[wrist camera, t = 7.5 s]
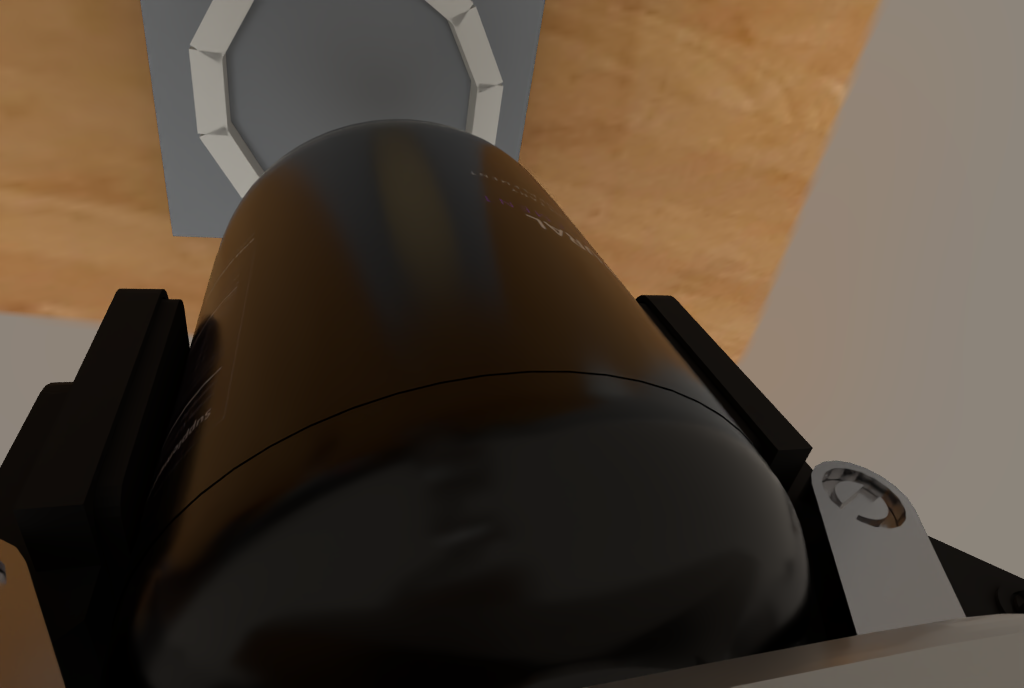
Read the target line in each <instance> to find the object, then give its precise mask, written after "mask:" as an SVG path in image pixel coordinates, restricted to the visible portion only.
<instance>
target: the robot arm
mask: <svg viewBox="0 0 1024 688" xmlns="http://www.w3.org/2000/svg"><path fill="white" fill-rule="evenodd" d="M636 301H637V302H638V303H639V305H640V306H641V307H642V308H643V310H644V311H645V312H646V313H647V314H648V316H649V317H650V318H651V319H652V321H653V322H654V323H655V324H656V325H657V327H658V328H659V329H660V330H661V332H662V333H663V334H664V335H665V336H666V338H667V339H668V340H669V341H670V343H671V344H672V345H673V346H674V347H675V349H676V350H677V351H678V352H679V354H680V355H681V356H682V357H683V358H684V360H685V361H686V362H687V363H688V364H689V366H690V367H691V368H692V369H693V371H694V372H695V373H696V374H697V375H698V377H699V378H700V379H701V380H702V382H703V383H704V384H705V385H706V386H707V388H708V389H709V390H710V391H711V393H712V394H713V395H714V396H715V397H716V399H717V400H718V401H719V402H720V404H721V405H722V406H723V407H724V409H725V410H726V411H727V412H728V413H729V415H730V416H731V417H732V418H733V420H734V421H735V422H736V423H737V424H738V426H739V427H740V428H741V429H742V431H743V432H744V433H745V434H746V436H747V437H748V438H749V439H750V441H751V442H752V443H753V444H754V446H755V447H756V449H757V450H758V452H759V454H760V455H761V456H762V457H763V459H764V460H765V461H766V463H767V464H768V465H769V467H770V468H771V470H772V471H773V473H774V474H775V476H776V477H777V478H778V480H779V482H780V483H781V485H782V486H783V488H784V489H785V491H786V492H787V494H788V496H789V498H790V500H791V502H792V504H793V507H794V509H795V512H796V514H797V517H798V519H799V521H800V524H801V527H802V531H803V535H804V539H805V544H806V549H807V554H808V559H809V565H810V573H811V590H812V613H811V620H810V628H809V634H808V640H807V645H803V646H797V647H792V648H787V649H781V650H776V651H771V652H766V653H760V654H755V655H750V656H744V657H739V658H734V659H728V660H723V661H718V662H712V663H707V664H702V665H697V666H692V667H687V668H681V669H676V670H671V671H666V672H661V673H656V674H650V675H645V676H640V677H635V678H630V679H625V680H619V681H614V682H609V683H604V684H599V685H594V686H589V687H583V688H1024V579H1022V578H1020V577H1018V576H1016V575H1013V574H1011V573H1009V572H1007V571H1004V570H1002V569H1000V568H998V567H996V566H993V565H991V564H989V563H987V562H985V561H982V560H980V559H978V558H976V557H974V556H971V555H969V554H967V553H965V552H962V551H960V550H958V549H956V548H954V547H952V546H949V545H947V544H945V543H943V542H941V541H938V540H936V539H934V538H932V537H930V536H927V533H926V532H925V529H924V527H923V525H922V523H921V521H920V519H919V517H918V515H917V512H916V510H915V509H914V507H913V506H912V504H911V503H910V501H909V500H908V498H907V497H906V496H905V495H904V494H903V493H902V492H901V491H900V490H899V489H898V488H897V487H896V486H894V485H893V484H892V483H890V482H889V481H887V480H886V479H885V478H883V477H882V476H880V475H878V474H876V473H874V472H872V471H870V470H868V469H866V468H864V467H861V466H858V465H855V464H852V463H848V462H841V461H827V462H822V463H821V464H819V465H817V466H815V468H814V470H812V469H811V467H810V466H809V465H808V464H807V463H806V462H805V461H806V458H807V457H808V455H809V453H810V452H811V450H812V447H811V446H810V444H809V443H808V442H807V441H806V440H805V439H804V438H803V437H802V436H801V435H800V434H799V433H798V432H797V430H796V429H795V428H794V427H793V426H792V425H791V424H790V423H789V422H788V421H787V419H786V418H784V416H783V415H782V414H781V413H780V412H779V411H778V410H777V409H776V408H775V406H774V405H773V404H772V403H771V402H770V401H769V400H768V399H767V398H766V397H765V396H764V394H763V393H761V391H760V390H759V389H758V388H757V387H756V386H755V385H754V384H753V383H752V381H751V380H750V379H749V378H748V377H747V376H746V375H745V374H744V373H743V372H742V371H741V370H740V368H739V367H738V366H737V365H736V364H735V363H734V362H733V361H732V360H731V359H730V358H729V356H728V355H727V354H726V353H725V352H724V351H723V350H722V349H721V348H720V347H719V346H718V345H717V343H716V342H715V341H714V340H713V339H712V338H711V337H710V336H709V335H708V334H707V333H706V332H705V330H704V329H703V328H702V327H701V326H700V325H699V324H698V323H697V322H696V321H695V320H694V318H693V317H692V316H691V315H690V314H689V313H688V312H687V311H686V310H685V309H684V308H683V307H682V305H681V304H680V303H679V302H678V301H677V300H676V299H675V298H674V297H672V296H663V295H641V296H639V297H637V299H636ZM189 350H190V347H189V339H188V332H187V324H186V317H185V310H184V305H183V302H182V300H181V299H168V295H167V292H166V291H165V289H118V291H117V292H116V294H115V296H114V298H113V300H112V302H111V304H110V306H109V308H108V310H107V313H106V315H105V317H104V319H103V321H102V323H101V325H100V327H99V329H98V331H97V334H96V336H95V338H94V340H93V342H92V344H91V346H90V349H89V350H88V353H87V354H86V357H85V359H84V361H83V363H82V365H81V367H80V369H79V371H78V373H77V375H76V377H75V380H74V382H57V383H50V384H48V385H46V386H45V387H44V388H43V390H42V391H41V392H40V394H39V396H38V398H37V400H36V402H35V403H34V405H33V407H32V409H31V411H30V413H29V415H28V417H27V418H26V420H25V422H24V424H23V426H22V428H21V430H20V432H19V433H18V436H17V437H16V439H15V441H14V443H13V445H12V446H11V448H10V450H9V452H8V454H7V456H6V458H5V460H4V461H3V463H2V465H1V467H0V688H100V681H101V674H102V669H103V664H104V658H105V653H106V649H107V645H108V641H109V638H110V634H111V629H112V622H113V618H114V614H115V610H116V607H117V603H118V599H119V596H120V592H121V589H122V585H123V582H124V578H125V575H126V571H127V568H128V564H129V561H130V557H131V553H132V550H133V546H134V543H135V539H136V536H137V532H138V529H139V525H140V522H141V518H142V515H143V511H144V508H145V504H146V501H147V497H148V494H149V490H150V487H151V483H152V480H153V476H154V473H155V469H156V466H157V462H158V459H159V455H160V451H161V448H162V444H163V441H164V437H165V434H166V430H167V427H168V423H169V420H170V416H171V413H172V409H173V406H174V402H175V399H176V395H177V392H178V388H179V385H180V381H181V378H182V374H183V371H184V367H185V364H186V360H187V357H188V353H189Z"/></svg>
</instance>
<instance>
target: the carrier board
mask: <svg viewBox="0 0 1024 688" xmlns="http://www.w3.org/2000/svg"><path fill="white" fill-rule="evenodd" d="M140 2H141V9H142V16H143V23H144V31H145V38H146V45H147V52H148V60H149V67H150V74H151V81H152V88H153V96H154V103H155V110H156V117H157V125H158V132H159V139H160V146H161V153H162V161H163V168H164V175H165V182H166V190H167V197H168V204H169V211H170V218H171V226H172V233H173V236H186V237H214V238H223V235H224V233H225V230H226V228H227V226H228V223H229V221H230V219H231V217H232V215H233V213H234V212H235V210H236V208H237V207H238V205H239V203H240V201H241V200H242V198H243V197H244V195H245V194H246V193H247V191H248V190H249V189H250V187H251V186H252V185H253V183H254V182H255V181H256V180H257V179H258V178H259V177H260V176H261V175H262V174H263V173H264V172H265V171H266V170H267V169H268V168H269V167H270V166H272V165H273V164H274V163H275V162H276V161H277V160H279V159H280V158H281V157H283V156H284V155H285V154H287V153H288V152H290V151H291V150H293V149H294V148H296V147H297V146H299V145H301V144H303V143H305V142H307V141H309V140H311V139H312V138H314V137H317V136H319V135H322V134H324V133H327V132H329V131H331V130H334V129H338V128H341V127H345V126H348V125H352V124H357V123H362V122H368V121H375V120H387V119H412V120H421V121H429V122H434V123H439V124H443V125H448V126H451V127H454V128H457V129H460V130H463V131H467V132H469V133H471V134H473V135H476V136H478V137H480V138H482V139H484V140H486V141H488V142H489V143H491V144H493V145H495V146H496V147H498V148H500V149H501V150H502V151H504V152H505V153H506V154H508V155H509V156H511V157H512V158H513V159H514V160H516V161H517V162H518V159H519V153H520V147H521V141H522V135H523V129H524V123H525V117H526V111H527V106H528V100H529V94H530V88H531V82H532V76H533V70H534V64H535V58H536V52H537V46H538V40H539V34H540V28H541V22H542V16H543V10H544V4H545V0H140Z"/></svg>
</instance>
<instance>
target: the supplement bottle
mask: <svg viewBox="0 0 1024 688" xmlns="http://www.w3.org/2000/svg"><path fill="white" fill-rule="evenodd" d="M811 613H812V590H811V573H810V565H809V559H808V554H807V549H806V544H805V539H804V535H803V531H802V527H801V524H800V521H799V519H798V517H797V514H796V512H795V509H794V507H793V504H792V502H791V500H790V498H789V496H788V494H787V492H786V491H785V489H784V488H783V486H782V485H781V483H780V482H779V480H778V478H777V477H776V476H775V474H774V473H773V471H772V470H771V468H770V467H769V465H768V464H767V463H766V461H765V460H764V459H763V457H762V456H761V455H760V454H759V452H758V450H757V449H756V447H755V446H754V444H753V443H752V442H751V441H750V439H749V438H748V437H747V436H746V434H745V433H744V432H743V431H742V429H741V428H740V427H739V426H738V424H737V423H736V422H735V421H734V420H733V418H732V417H731V416H730V415H729V413H728V412H727V411H726V410H725V409H724V407H723V406H722V405H721V404H720V402H719V401H718V400H717V399H716V397H715V396H714V395H713V394H712V393H711V391H710V390H709V389H708V388H707V386H706V385H705V384H704V383H703V382H702V380H701V379H700V378H699V377H698V375H697V374H696V373H695V372H694V371H693V369H692V368H691V367H690V366H689V364H688V363H687V362H686V361H685V360H684V358H683V357H682V356H681V355H680V354H679V352H678V351H677V350H676V349H675V347H674V346H673V345H672V344H671V343H670V341H669V340H668V339H667V338H666V336H665V335H664V334H663V333H662V332H661V330H660V329H659V328H658V327H657V325H656V324H655V323H654V322H653V321H652V319H651V318H650V317H649V316H648V314H647V313H646V312H645V311H644V310H643V308H642V307H641V306H640V305H639V303H638V302H637V301H636V300H635V299H634V297H633V296H632V295H631V294H630V292H629V291H628V290H627V289H626V288H625V286H624V285H623V284H622V283H621V281H620V280H619V279H618V278H617V277H616V275H615V274H614V273H613V272H612V270H611V269H610V268H609V267H608V266H607V264H606V263H605V262H604V261H603V259H602V258H601V257H600V256H599V255H598V253H597V252H596V251H595V250H594V248H593V247H592V246H591V245H590V244H589V242H588V241H587V240H586V239H585V238H584V236H583V235H582V234H581V233H580V231H579V230H578V229H577V228H576V227H575V225H574V224H573V223H572V222H571V220H570V219H569V218H568V217H567V216H566V214H565V213H564V212H563V211H562V209H561V208H560V207H559V206H558V205H557V203H556V202H555V201H554V200H553V199H552V198H551V196H550V195H549V194H548V193H547V192H546V191H545V190H544V189H543V188H542V186H541V185H540V184H539V183H538V182H537V181H536V180H535V179H534V177H533V176H532V175H531V174H530V173H529V172H528V171H527V170H526V169H525V168H524V167H522V166H521V165H520V164H519V163H518V162H517V161H516V160H514V159H513V158H512V157H511V156H509V155H508V154H506V153H505V152H504V151H502V150H501V149H500V148H498V147H496V146H495V145H493V144H491V143H489V142H488V141H486V140H484V139H482V138H480V137H478V136H476V135H473V134H471V133H469V132H467V131H463V130H460V129H457V128H454V127H451V126H448V125H443V124H439V123H434V122H429V121H421V120H412V119H387V120H375V121H368V122H362V123H357V124H352V125H348V126H345V127H341V128H338V129H334V130H331V131H329V132H327V133H324V134H322V135H319V136H317V137H314V138H312V139H311V140H309V141H307V142H305V143H303V144H301V145H299V146H297V147H296V148H294V149H293V150H291V151H290V152H288V153H287V154H285V155H284V156H283V157H281V158H280V159H279V160H277V161H276V162H275V163H274V164H273V165H272V166H270V167H269V168H268V169H267V170H266V171H265V172H264V173H263V174H262V175H261V176H260V177H259V178H258V179H257V180H256V181H255V182H254V183H253V185H252V186H251V187H250V189H249V190H248V191H247V193H246V194H245V195H244V197H243V198H242V200H241V201H240V203H239V205H238V207H237V208H236V210H235V212H234V213H233V215H232V217H231V219H230V221H229V223H228V226H227V228H226V230H225V233H224V235H223V238H222V241H221V244H220V247H219V251H218V253H217V256H216V259H215V262H214V266H213V269H212V272H211V276H210V279H209V283H208V286H207V290H206V293H205V297H204V300H203V304H202V307H201V311H200V314H199V318H198V321H197V325H196V328H195V332H194V335H193V339H192V343H191V346H190V350H189V353H188V357H187V360H186V364H185V367H184V371H183V374H182V378H181V381H180V385H179V388H178V392H177V395H176V399H175V402H174V406H173V409H172V413H171V416H170V420H169V423H168V427H167V430H166V434H165V437H164V441H163V444H162V448H161V451H160V455H159V459H158V462H157V466H156V469H155V473H154V476H153V480H152V483H151V487H150V490H149V494H148V497H147V501H146V504H145V508H144V511H143V515H142V518H141V522H140V525H139V529H138V532H137V536H136V539H135V543H134V546H133V550H132V553H131V557H130V561H129V564H128V568H127V571H126V575H125V578H124V582H123V585H122V589H121V592H120V596H119V599H118V603H117V607H116V610H115V614H114V618H113V622H112V629H111V634H110V638H109V641H108V645H107V649H106V653H105V658H104V664H103V669H102V674H101V681H100V688H583V687H589V686H594V685H599V684H604V683H609V682H614V681H619V680H625V679H630V678H635V677H640V676H645V675H650V674H656V673H661V672H666V671H671V670H676V669H681V668H687V667H692V666H697V665H702V664H707V663H712V662H718V661H723V660H728V659H734V658H739V657H744V656H750V655H755V654H760V653H766V652H771V651H776V650H781V649H787V648H792V647H797V646H803V645H807V640H808V634H809V628H810V620H811Z"/></svg>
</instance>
